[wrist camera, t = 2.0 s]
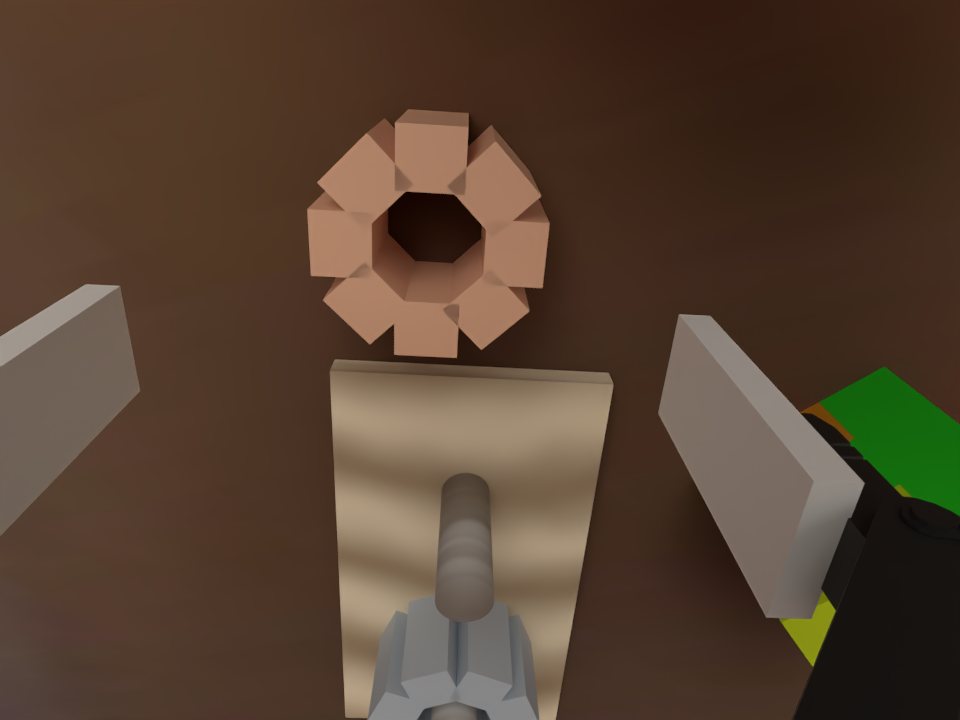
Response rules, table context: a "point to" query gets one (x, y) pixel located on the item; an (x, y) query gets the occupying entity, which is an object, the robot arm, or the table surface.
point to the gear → (454, 665)
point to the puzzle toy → (888, 460)
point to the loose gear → (418, 284)
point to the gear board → (407, 507)
